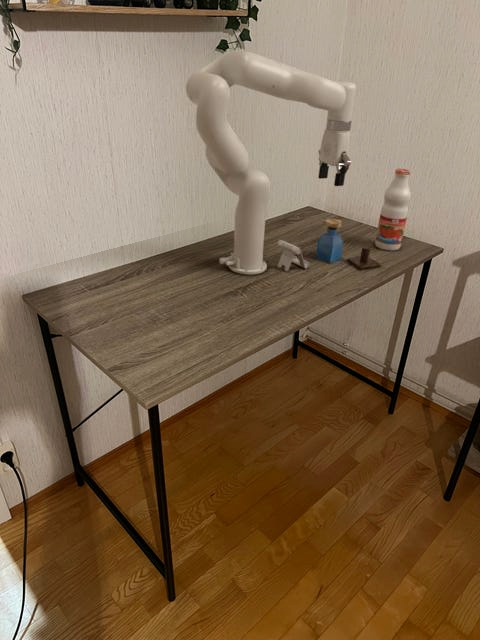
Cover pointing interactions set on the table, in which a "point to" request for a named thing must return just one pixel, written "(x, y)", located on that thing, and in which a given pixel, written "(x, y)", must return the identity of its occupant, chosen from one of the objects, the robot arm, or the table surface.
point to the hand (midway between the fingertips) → (330, 181)
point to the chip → (333, 223)
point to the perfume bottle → (329, 246)
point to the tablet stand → (291, 256)
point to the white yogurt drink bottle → (394, 212)
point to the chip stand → (363, 260)
